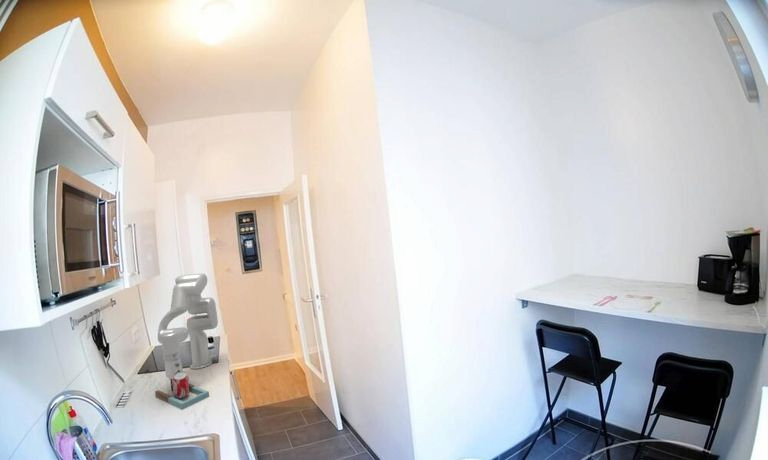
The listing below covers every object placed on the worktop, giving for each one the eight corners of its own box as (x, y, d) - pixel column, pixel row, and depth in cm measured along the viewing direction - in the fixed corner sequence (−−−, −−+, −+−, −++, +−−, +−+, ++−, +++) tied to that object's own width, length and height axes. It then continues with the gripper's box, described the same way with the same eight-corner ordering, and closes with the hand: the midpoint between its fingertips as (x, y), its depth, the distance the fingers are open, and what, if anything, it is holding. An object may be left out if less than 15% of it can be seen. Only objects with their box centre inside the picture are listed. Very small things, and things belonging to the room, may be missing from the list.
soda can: (170, 396, 178) (168, 376, 174) (182, 387, 184) (181, 368, 181) (179, 401, 176) (178, 382, 172) (192, 392, 182) (191, 373, 178)
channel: (181, 385, 193) (181, 380, 193) (195, 390, 185) (194, 385, 185) (155, 397, 182) (155, 391, 182) (168, 402, 174) (168, 397, 174)
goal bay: (195, 390, 185) (194, 386, 185) (209, 396, 178) (208, 391, 178) (168, 402, 174) (168, 398, 174) (182, 409, 167) (181, 404, 167)
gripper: (186, 355, 180) (189, 390, 180) (173, 351, 189) (176, 384, 189) (170, 361, 174) (174, 397, 174) (157, 356, 183) (161, 391, 183)
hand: (175, 390), depth 182 cm, fingers closed
